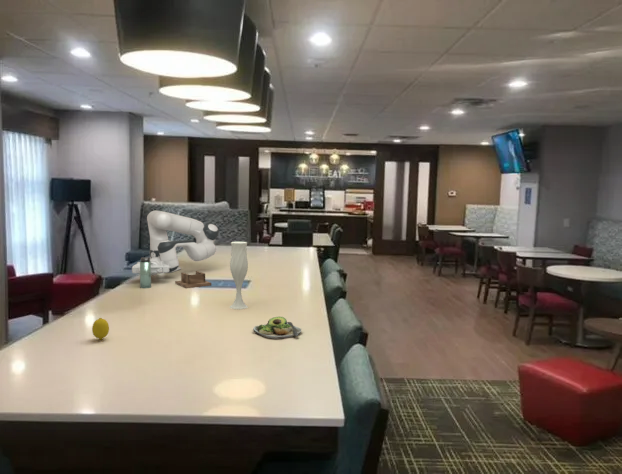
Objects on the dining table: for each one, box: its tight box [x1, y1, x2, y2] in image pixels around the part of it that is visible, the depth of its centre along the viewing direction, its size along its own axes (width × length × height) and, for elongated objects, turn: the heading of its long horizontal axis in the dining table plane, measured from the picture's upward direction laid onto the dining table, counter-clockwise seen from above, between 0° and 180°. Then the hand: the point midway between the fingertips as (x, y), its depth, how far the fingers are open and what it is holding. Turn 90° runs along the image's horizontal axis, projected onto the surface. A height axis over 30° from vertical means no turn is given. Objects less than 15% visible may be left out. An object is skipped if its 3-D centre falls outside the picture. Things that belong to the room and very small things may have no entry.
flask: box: [139, 256, 152, 289], centre depth 274 cm, size 6×6×16 cm
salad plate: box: [252, 316, 302, 340], centre depth 193 cm, size 19×18×5 cm
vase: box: [229, 241, 249, 310], centre depth 232 cm, size 9×8×30 cm
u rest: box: [174, 270, 212, 289], centre depth 284 cm, size 15×15×6 cm
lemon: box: [91, 317, 110, 341], centre depth 181 cm, size 6×6×8 cm
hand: (149, 271), depth 278 cm, fingers open, 8 cm apart
